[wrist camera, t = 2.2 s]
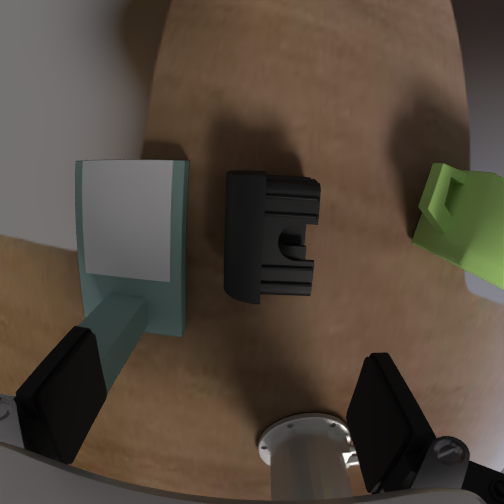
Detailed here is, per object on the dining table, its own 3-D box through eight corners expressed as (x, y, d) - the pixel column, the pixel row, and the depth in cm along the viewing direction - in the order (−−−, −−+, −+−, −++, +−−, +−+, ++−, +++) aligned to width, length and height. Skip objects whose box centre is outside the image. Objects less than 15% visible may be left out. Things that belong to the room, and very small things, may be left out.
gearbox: (519, 211, 29) (572, 225, 20) (493, 283, 32) (542, 311, 22) (419, 141, 27) (477, 135, 18) (387, 232, 30) (438, 257, 20)
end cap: (230, 169, 29) (222, 172, 22) (308, 173, 29) (323, 177, 22) (227, 273, 31) (220, 303, 25) (300, 277, 31) (310, 307, 25)
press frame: (189, 160, 28) (117, 164, 13) (185, 327, 33) (142, 440, 18) (85, 160, 28) (-32, 172, 13) (93, 314, 33) (16, 401, 18)
